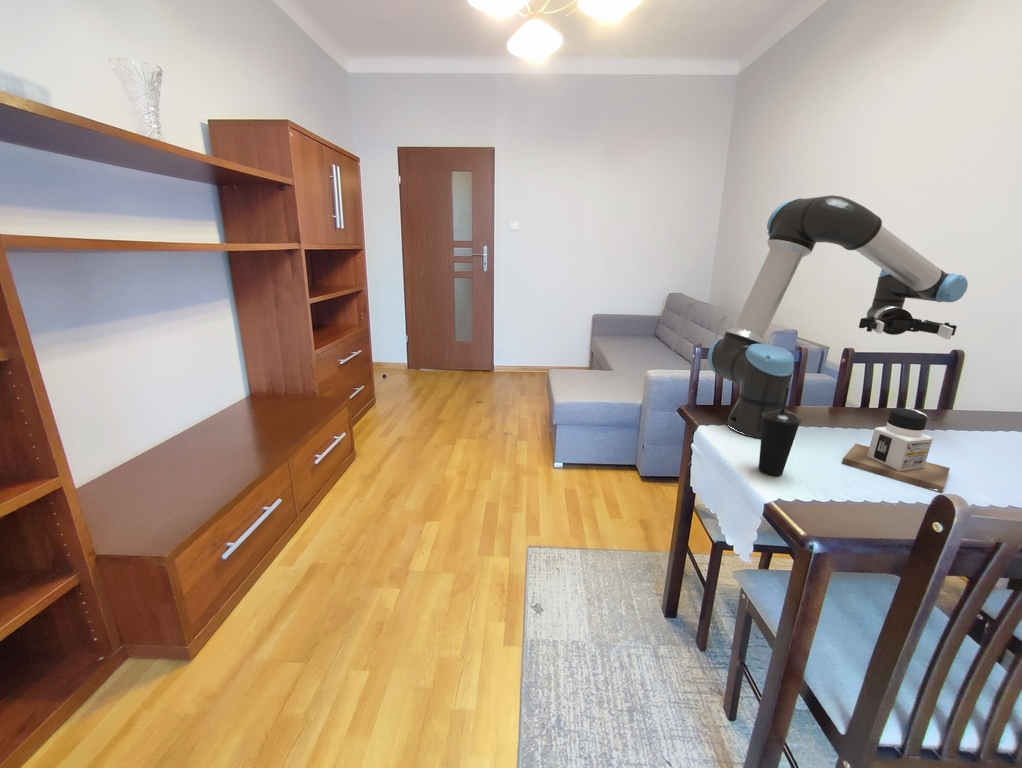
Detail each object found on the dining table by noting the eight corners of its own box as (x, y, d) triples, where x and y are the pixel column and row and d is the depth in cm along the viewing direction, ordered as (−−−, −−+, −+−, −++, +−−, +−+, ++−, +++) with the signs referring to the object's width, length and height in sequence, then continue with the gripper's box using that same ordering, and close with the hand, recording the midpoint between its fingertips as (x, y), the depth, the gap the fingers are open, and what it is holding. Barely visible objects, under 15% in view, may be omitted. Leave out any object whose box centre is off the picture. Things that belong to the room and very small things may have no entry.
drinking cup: (779, 465, 108) (797, 384, 102) (795, 480, 101) (815, 394, 95) (746, 462, 109) (761, 382, 103) (759, 478, 102) (777, 392, 96)
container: (899, 471, 103) (915, 417, 99) (865, 457, 110) (879, 406, 106) (924, 468, 105) (941, 415, 101) (889, 454, 112) (904, 404, 108)
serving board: (841, 463, 110) (843, 457, 109) (854, 448, 118) (855, 443, 118) (941, 492, 97) (943, 486, 97) (947, 473, 106) (949, 468, 105)
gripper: (944, 337, 129) (975, 351, 111) (838, 328, 140) (851, 340, 122) (952, 311, 127) (985, 320, 109) (844, 304, 138) (858, 312, 120)
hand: (914, 331), depth 115 cm, fingers open, 13 cm apart
